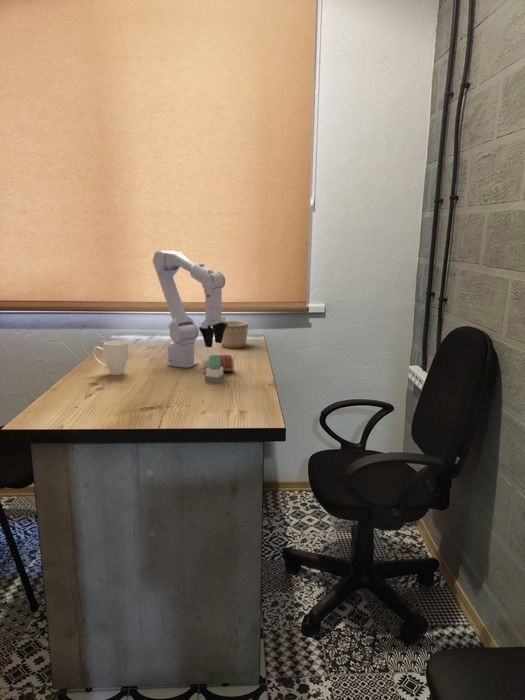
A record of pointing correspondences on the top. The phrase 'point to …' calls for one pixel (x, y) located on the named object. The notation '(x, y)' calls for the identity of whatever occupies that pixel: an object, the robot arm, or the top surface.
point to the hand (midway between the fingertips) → (213, 344)
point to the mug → (114, 356)
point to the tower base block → (214, 379)
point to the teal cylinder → (214, 362)
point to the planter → (235, 334)
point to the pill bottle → (222, 363)
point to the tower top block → (214, 372)
